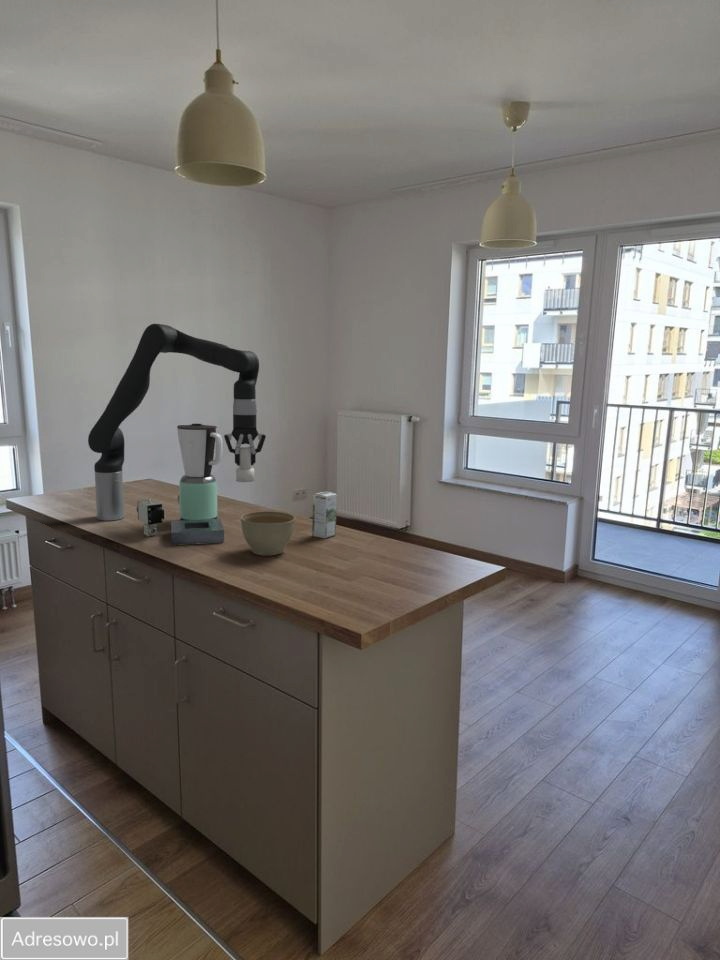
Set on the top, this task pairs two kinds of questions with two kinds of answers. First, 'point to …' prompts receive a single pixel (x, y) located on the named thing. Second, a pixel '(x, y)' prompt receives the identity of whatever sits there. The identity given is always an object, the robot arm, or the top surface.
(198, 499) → the mint green blender
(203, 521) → the bore block
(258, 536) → the planter bowl
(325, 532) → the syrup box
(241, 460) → the white stepped cylindrical peg
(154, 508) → the pneumatic valve
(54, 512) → the top surface
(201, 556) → the top surface
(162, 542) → the top surface
